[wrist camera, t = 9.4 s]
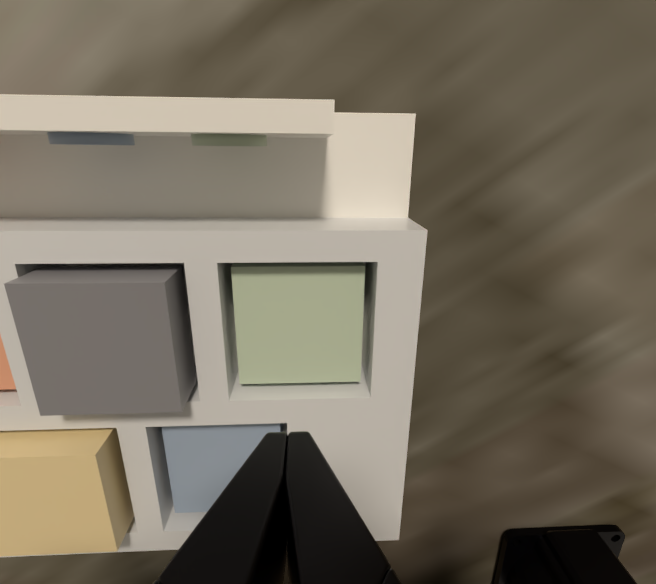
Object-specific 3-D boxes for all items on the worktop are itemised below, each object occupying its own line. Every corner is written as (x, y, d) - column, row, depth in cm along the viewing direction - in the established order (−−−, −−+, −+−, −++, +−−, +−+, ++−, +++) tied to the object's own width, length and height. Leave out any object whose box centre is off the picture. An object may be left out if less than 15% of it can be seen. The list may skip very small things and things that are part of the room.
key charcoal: (196, 381, 15) (181, 412, 13) (71, 384, 14) (40, 415, 13) (182, 265, 13) (164, 282, 11) (43, 266, 13) (4, 283, 11)
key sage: (354, 357, 16) (360, 381, 15) (246, 359, 16) (239, 384, 14) (358, 252, 15) (365, 266, 13) (239, 253, 15) (230, 267, 13)
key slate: (285, 475, 18) (283, 508, 16) (187, 478, 18) (175, 513, 16) (282, 392, 17) (279, 420, 15) (175, 395, 16) (161, 423, 15)
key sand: (137, 509, 16) (117, 551, 15) (25, 514, 16) (-7, 556, 14) (119, 420, 15) (95, 455, 13) (-4, 423, 15) (-44, 459, 13)
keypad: (383, 475, 20) (404, 563, 16) (-36, 490, 19) (-134, 588, 15) (408, 116, 14) (451, 101, 10) (-181, 107, 13) (-406, 87, 9)
